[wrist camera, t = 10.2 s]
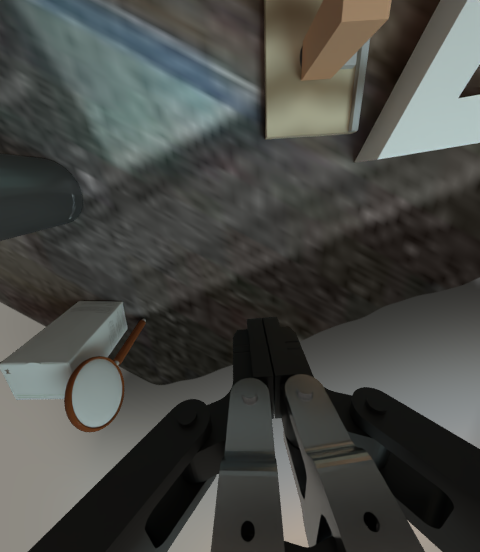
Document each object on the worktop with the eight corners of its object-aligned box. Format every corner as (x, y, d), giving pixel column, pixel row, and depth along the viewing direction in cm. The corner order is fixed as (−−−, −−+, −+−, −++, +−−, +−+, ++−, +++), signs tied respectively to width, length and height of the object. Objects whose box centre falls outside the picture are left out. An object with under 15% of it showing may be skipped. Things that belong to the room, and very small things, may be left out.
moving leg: (350, 77, 27) (420, 17, 17) (301, 80, 27) (341, 22, 17) (354, 37, 25) (434, -55, 15) (302, 41, 25) (347, -50, 15)
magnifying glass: (158, 335, 44) (105, 446, 26) (151, 337, 44) (92, 449, 26) (136, 299, 41) (57, 398, 22) (128, 302, 41) (43, 402, 23)
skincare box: (86, 327, 43) (12, 401, 29) (77, 297, 40) (-8, 363, 26) (130, 328, 43) (79, 402, 29) (124, 299, 41) (65, 364, 26)
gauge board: (350, 133, 31) (360, 130, 29) (265, 139, 31) (267, 136, 29) (382, -125, 22) (399, -160, 20) (262, -117, 22) (265, -151, 20)
